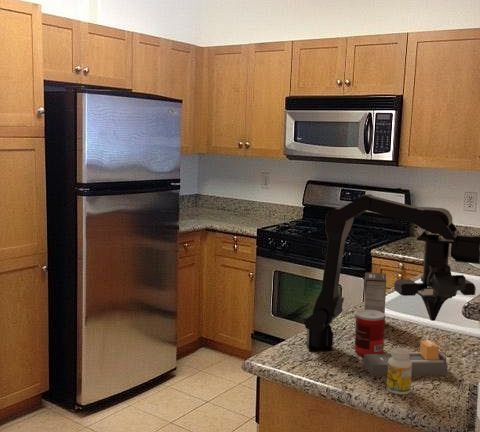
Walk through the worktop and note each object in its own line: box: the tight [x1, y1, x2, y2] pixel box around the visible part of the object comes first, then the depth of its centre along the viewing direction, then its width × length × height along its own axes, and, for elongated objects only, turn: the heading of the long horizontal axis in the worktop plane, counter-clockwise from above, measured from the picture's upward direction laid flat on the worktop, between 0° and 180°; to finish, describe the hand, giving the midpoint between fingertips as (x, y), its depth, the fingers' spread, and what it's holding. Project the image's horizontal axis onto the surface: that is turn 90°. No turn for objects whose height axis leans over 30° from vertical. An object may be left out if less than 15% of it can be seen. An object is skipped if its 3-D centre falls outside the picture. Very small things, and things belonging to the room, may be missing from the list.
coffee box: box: [363, 272, 387, 315], centre depth 175 cm, size 9×6×16 cm
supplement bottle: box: [386, 347, 412, 396], centre depth 131 cm, size 5×5×10 cm
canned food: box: [354, 309, 386, 358], centre depth 154 cm, size 8×8×11 cm
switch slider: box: [419, 339, 440, 360], centre depth 143 cm, size 3×4×4 cm
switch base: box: [363, 351, 448, 378], centre depth 143 cm, size 19×7×4 cm, turn 94°
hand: (432, 320), depth 142 cm, fingers closed
